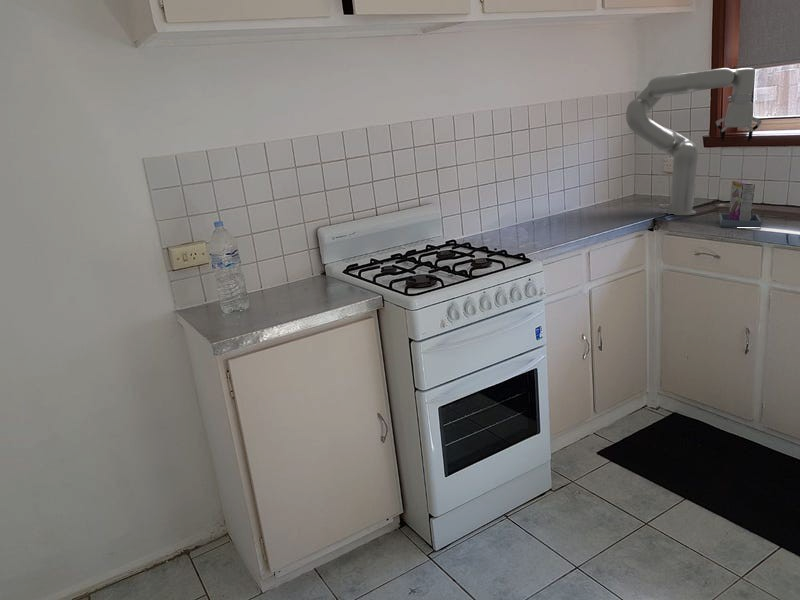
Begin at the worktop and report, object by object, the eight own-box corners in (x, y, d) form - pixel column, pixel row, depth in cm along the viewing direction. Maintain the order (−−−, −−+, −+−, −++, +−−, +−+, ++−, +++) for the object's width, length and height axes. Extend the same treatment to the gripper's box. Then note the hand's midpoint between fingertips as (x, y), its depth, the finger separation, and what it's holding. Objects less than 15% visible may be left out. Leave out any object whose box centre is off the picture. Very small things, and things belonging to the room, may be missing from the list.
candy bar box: (727, 220, 266) (731, 180, 261) (739, 220, 265) (744, 180, 260) (737, 225, 255) (742, 183, 250) (750, 225, 254) (756, 183, 250)
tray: (720, 227, 256) (721, 220, 255) (718, 220, 270) (719, 213, 269) (760, 229, 250) (761, 221, 249) (756, 222, 264) (757, 214, 264)
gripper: (718, 99, 269) (713, 141, 274) (765, 98, 261) (759, 142, 266) (718, 99, 275) (713, 140, 280) (764, 98, 267) (758, 140, 272)
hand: (735, 141), depth 273 cm, fingers open, 9 cm apart
